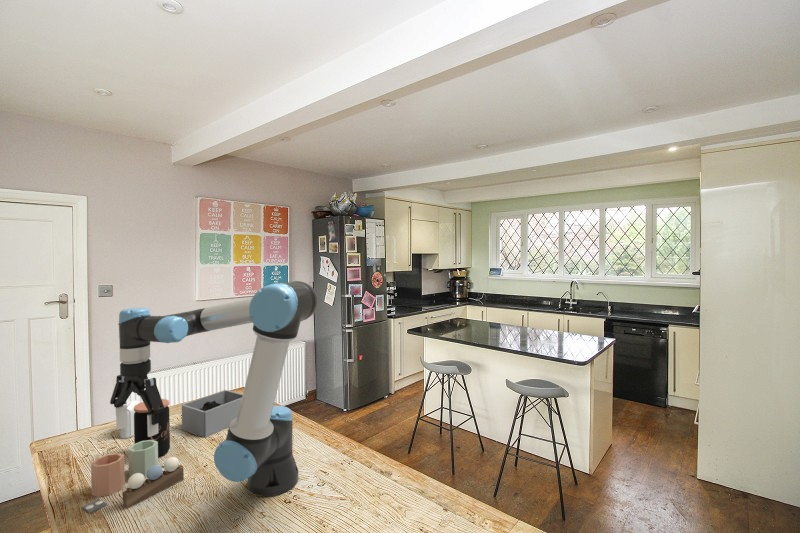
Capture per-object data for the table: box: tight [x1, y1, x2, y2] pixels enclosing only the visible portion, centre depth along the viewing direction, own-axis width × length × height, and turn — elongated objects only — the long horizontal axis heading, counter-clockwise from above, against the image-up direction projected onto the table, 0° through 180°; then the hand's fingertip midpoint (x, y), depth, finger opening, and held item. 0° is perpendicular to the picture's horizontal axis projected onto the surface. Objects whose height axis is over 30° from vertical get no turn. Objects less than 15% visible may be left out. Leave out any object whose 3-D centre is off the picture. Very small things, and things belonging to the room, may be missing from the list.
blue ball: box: [146, 464, 163, 480], centre depth 115 cm, size 4×4×4 cm
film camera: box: [199, 401, 221, 411], centre depth 161 cm, size 15×10×9 cm, turn 178°
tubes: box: [81, 440, 159, 514], centre depth 118 cm, size 12×22×9 cm, turn 151°
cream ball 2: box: [163, 456, 180, 472], centre depth 119 cm, size 4×4×4 cm
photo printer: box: [120, 400, 141, 439], centre depth 153 cm, size 10×4×12 cm, turn 13°
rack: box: [122, 464, 185, 509], centre depth 115 cm, size 2×16×5 cm, turn 151°
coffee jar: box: [133, 398, 171, 459], centre depth 137 cm, size 11×11×18 cm
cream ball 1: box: [127, 473, 146, 489], centre depth 110 cm, size 4×4×4 cm
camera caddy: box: [181, 389, 243, 438], centre depth 162 cm, size 16×21×10 cm
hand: (137, 431), depth 114 cm, fingers open, 13 cm apart
